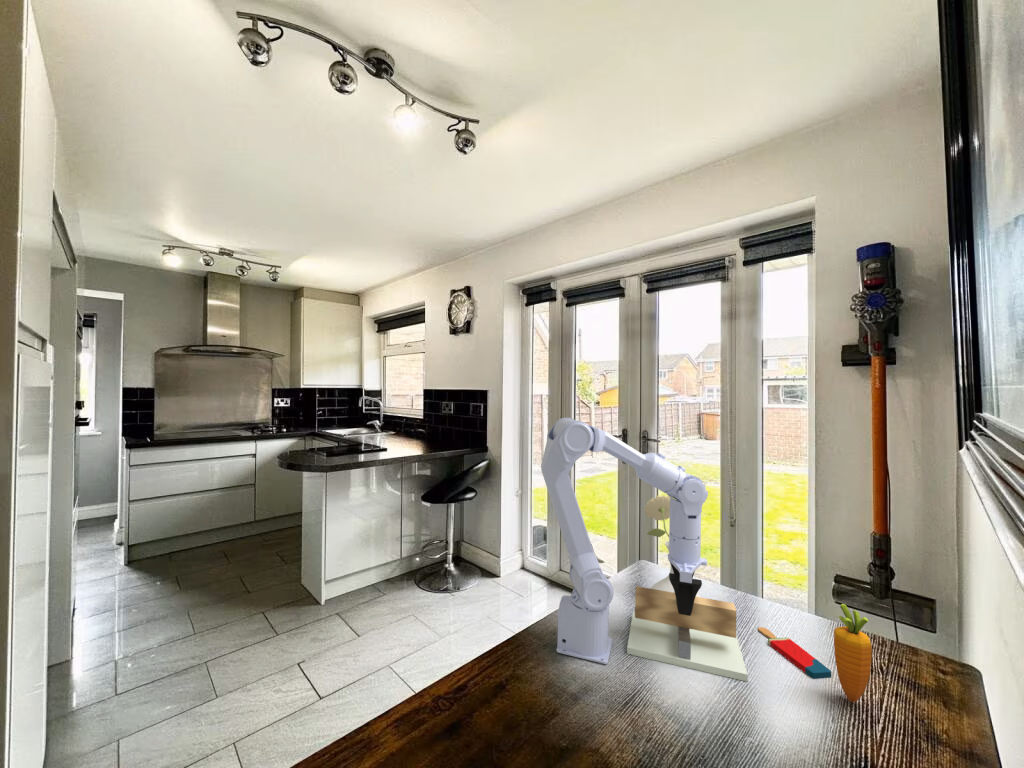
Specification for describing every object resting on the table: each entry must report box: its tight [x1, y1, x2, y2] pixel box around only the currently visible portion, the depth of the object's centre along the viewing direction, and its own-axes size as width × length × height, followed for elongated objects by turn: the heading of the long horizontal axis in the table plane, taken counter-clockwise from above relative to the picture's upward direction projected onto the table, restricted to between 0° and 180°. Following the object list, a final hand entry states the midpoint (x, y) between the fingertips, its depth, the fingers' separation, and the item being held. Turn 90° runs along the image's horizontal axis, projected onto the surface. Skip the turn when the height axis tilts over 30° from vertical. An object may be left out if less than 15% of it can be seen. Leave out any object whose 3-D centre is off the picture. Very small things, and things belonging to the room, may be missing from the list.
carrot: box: [833, 603, 873, 703], centre depth 68 cm, size 5×5×15 cm
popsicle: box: [757, 626, 832, 680], centre depth 81 cm, size 5×2×15 cm
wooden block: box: [634, 586, 737, 638], centre depth 82 cm, size 18×3×5 cm, turn 70°
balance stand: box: [626, 610, 749, 683], centre depth 82 cm, size 20×14×4 cm
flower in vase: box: [643, 495, 701, 597], centre depth 99 cm, size 13×11×25 cm
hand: (683, 604), depth 82 cm, fingers open, 7 cm apart
